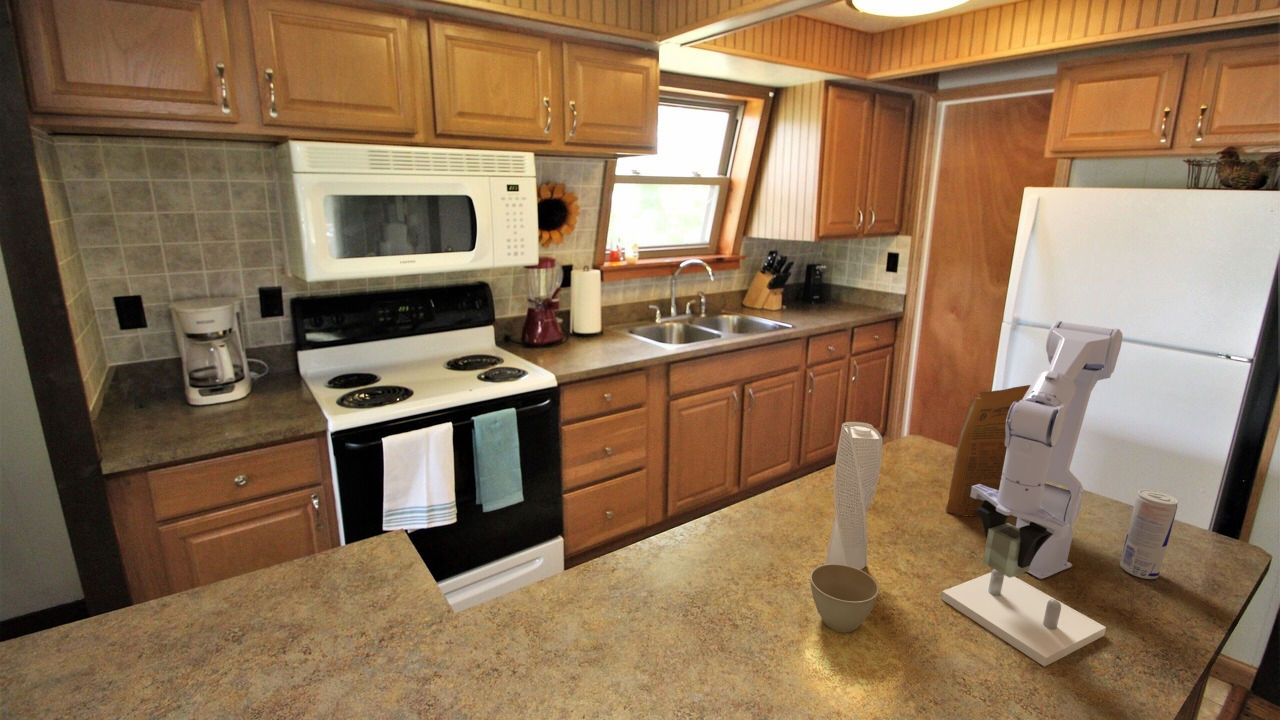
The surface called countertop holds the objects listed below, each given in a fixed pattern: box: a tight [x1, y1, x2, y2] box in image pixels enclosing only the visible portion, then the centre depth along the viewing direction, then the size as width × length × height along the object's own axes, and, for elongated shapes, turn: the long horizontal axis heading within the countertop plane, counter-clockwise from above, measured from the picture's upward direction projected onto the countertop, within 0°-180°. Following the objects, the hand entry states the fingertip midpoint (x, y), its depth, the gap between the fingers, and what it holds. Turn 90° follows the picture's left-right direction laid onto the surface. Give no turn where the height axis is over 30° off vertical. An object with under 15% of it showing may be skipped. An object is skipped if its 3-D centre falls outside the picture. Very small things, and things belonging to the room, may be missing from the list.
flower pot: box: [809, 563, 880, 633], centre depth 97 cm, size 10×10×7 cm
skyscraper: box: [824, 421, 883, 570], centre depth 109 cm, size 8×8×28 cm
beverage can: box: [1119, 488, 1179, 580], centre depth 111 cm, size 6×6×15 cm
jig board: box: [940, 568, 1107, 667], centre depth 99 cm, size 15×17×6 cm
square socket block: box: [982, 522, 1030, 578], centre depth 99 cm, size 5×5×6 cm
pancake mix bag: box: [945, 384, 1031, 517], centre depth 130 cm, size 7×19×28 cm, turn 103°
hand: (1007, 557), depth 100 cm, fingers closed on square socket block, 5 cm apart
